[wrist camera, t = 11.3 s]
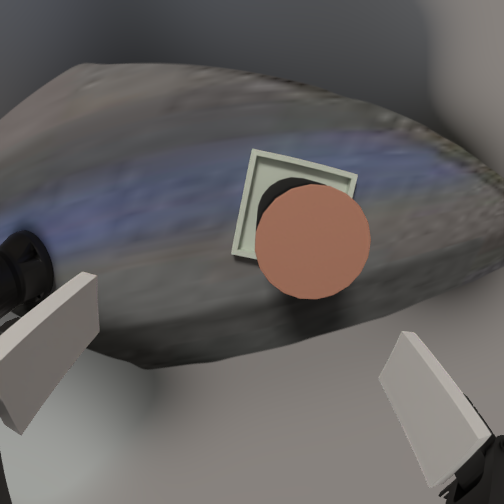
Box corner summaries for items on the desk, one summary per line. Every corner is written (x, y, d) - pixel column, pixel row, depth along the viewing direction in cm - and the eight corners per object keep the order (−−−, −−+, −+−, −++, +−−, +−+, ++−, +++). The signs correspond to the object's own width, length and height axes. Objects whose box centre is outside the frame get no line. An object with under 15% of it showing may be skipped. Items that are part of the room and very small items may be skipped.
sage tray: (232, 250, 45) (231, 254, 43) (252, 149, 40) (252, 148, 39) (328, 270, 45) (331, 274, 43) (354, 174, 41) (357, 174, 39)
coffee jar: (318, 254, 44) (350, 308, 27) (250, 239, 44) (243, 288, 26) (336, 186, 41) (384, 201, 24) (265, 169, 41) (269, 170, 23)
